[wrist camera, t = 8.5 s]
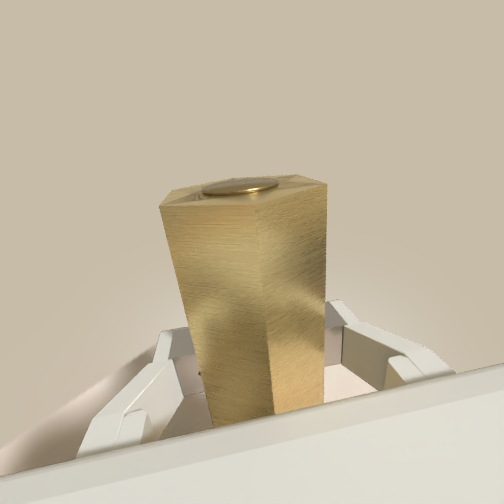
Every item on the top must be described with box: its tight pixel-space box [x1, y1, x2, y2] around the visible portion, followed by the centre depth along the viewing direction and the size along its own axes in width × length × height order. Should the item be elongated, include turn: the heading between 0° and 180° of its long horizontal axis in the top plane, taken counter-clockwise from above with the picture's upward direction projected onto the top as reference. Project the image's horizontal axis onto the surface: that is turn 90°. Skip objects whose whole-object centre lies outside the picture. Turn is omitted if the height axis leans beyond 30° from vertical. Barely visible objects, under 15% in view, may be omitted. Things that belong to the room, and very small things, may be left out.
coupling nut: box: [159, 175, 327, 428], centre depth 10 cm, size 4×5×13 cm
